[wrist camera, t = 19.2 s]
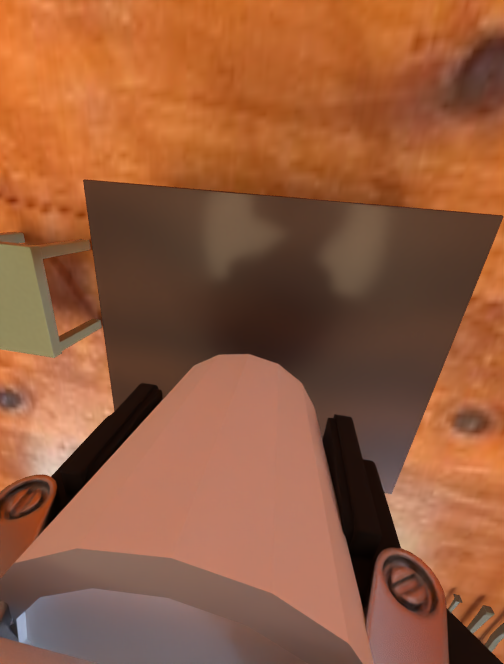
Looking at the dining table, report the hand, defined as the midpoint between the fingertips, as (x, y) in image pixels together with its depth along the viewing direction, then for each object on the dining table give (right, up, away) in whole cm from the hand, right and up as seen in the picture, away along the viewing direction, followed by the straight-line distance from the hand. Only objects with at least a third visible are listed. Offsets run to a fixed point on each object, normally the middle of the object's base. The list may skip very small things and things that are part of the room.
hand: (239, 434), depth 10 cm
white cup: (0, 0, +1) cm, 1 cm away
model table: (+2, +6, +13) cm, 15 cm away
